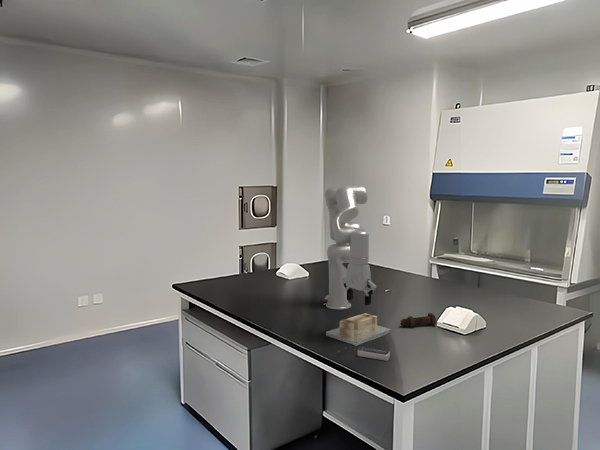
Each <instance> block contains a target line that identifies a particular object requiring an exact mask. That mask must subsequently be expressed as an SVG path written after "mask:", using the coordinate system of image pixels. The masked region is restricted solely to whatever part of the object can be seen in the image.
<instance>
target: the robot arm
mask: <svg viewBox="0 0 600 450" xmlns="http://www.w3.org/2000/svg"><path fill="white" fill-rule="evenodd" d="M324 198H325V204H326V207H327V209H328V213H329V236H330V237H329V238H330V239H331V240H332V241H334V242H335V243H333V244H330V245H329V246H328V247H327V249H326V256H327V260H328V261H327V262H328V294H327V295H326V296H325V297H324V300H326V301H327V302H326V303H325V308H327V309H331V310H347V309H350V308H352V303H350V302H349V301H351V300H353V299H354V290H357V291H360V292H364V294H365V295H364V306H370V305H371V304H372V296H373V294H374V293H375V291H376V289H377V287H378V286H377V284H375V283H374V282H373V281H372V275H371V268H370V264H369V255H370V254H369V251H370V250H369V247H370V243H369V242H370V241H369V240H370V239H369V237H370V236H369V235H370V234H369V232H368V231H367V230H366V228H364V227H362V225H361V224H360V222H358V221H353V220H354V219H356V218H357V217H358V215H359V213H360V210H359V207H358V205H364V204H367V202H368V198H369V195H368V190H367V189H366V187H365V186H363V185H343V186H330V187H328V188H327V189H325V193H324ZM347 263H348V264H347ZM344 264H347V267H346V266H345V265H344Z"/></svg>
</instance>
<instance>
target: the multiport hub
mask: <svg viewBox="0 0 600 450" xmlns="http://www.w3.org/2000/svg"><path fill="white" fill-rule="evenodd" d="M356 352H357V354H356V355H357V357H361V358H362V357H364V358H368V359H374V360H380V361H388V360H389V359H390V357H391V351H389V350H383V349H378V348H373V347H372V348H371V347H365V346H360V347H359V348H358V349H357V351H356Z"/></svg>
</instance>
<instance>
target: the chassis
mask: <svg viewBox="0 0 600 450" xmlns="http://www.w3.org/2000/svg"><path fill="white" fill-rule="evenodd" d="M391 333H392V329H391V328H389V327H385V326H382V325H378V324H377V328H376V329H373V330H370V331H367V332H365V333H362V334H359V335H356V336H353V337H350V336H347V335H344V334H341V333H340V327H337V328H334V329H331V330H329V331H325V336H327V337H329V338H332V339H335V340H338V341H341V342H344V343H347V344H349V345H353V346H355V347H357V346H359V345H362V344H365V343H366V342H370V341H372V340H375V339H378V338H381V337H383V336H384V337H385V336H386V335H388V334H391Z"/></svg>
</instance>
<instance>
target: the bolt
mask: <svg viewBox="0 0 600 450" xmlns="http://www.w3.org/2000/svg"><path fill="white" fill-rule="evenodd" d="M399 322H400V323H399V324H400V326H401V327H409V328H415V326H419V325H420V326H422V325H429V326H431V327H435V326H436V324H437V317H436V315H435V314H434V313H432V312H428V314H427V316H420V317H419V316H418V317H413V316H412V315H408V316H407V318H402V319H401V320H399Z"/></svg>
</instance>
